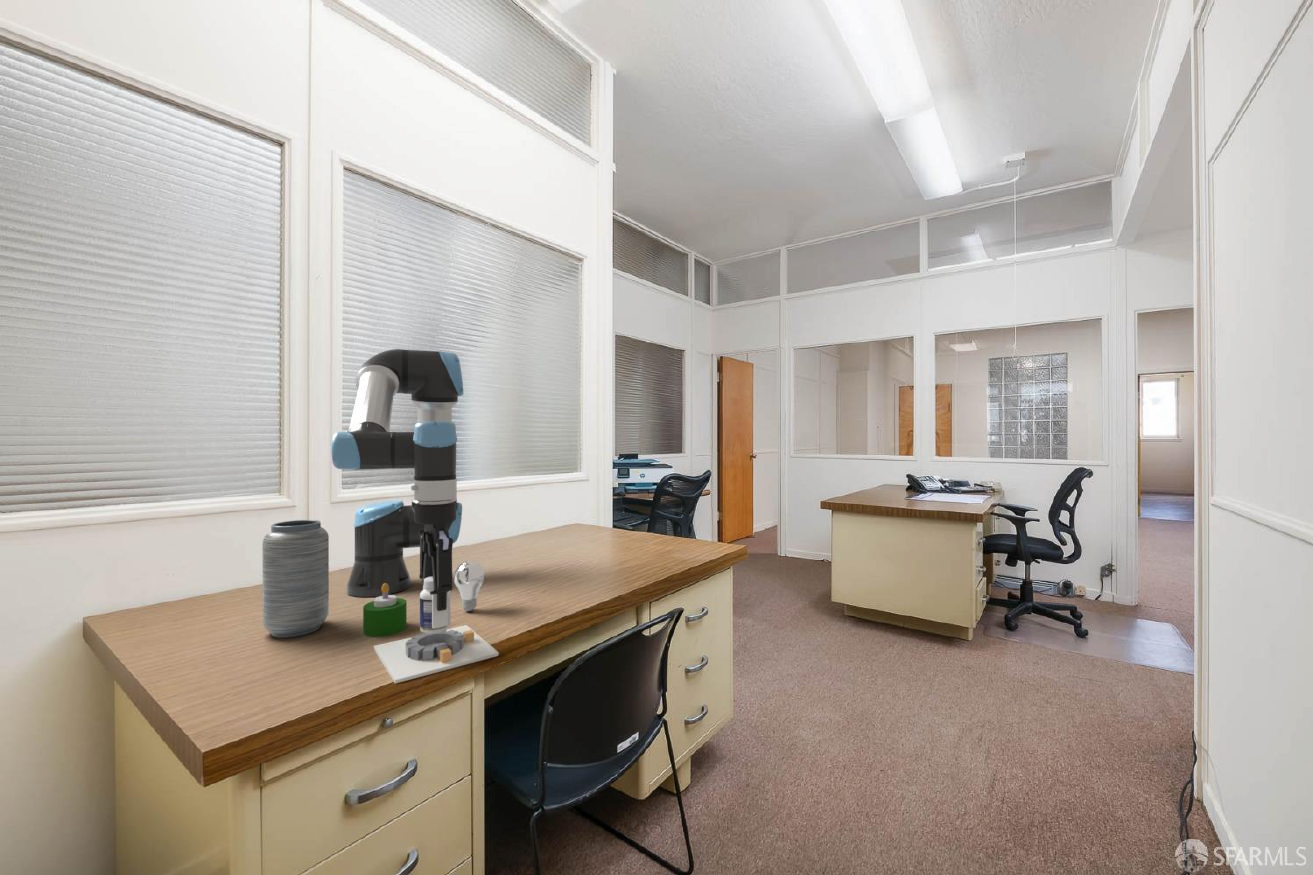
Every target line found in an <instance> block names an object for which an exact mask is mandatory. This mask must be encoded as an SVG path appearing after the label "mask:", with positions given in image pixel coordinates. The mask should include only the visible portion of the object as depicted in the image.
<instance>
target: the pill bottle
mask: <svg viewBox="0 0 1313 875" xmlns="http://www.w3.org/2000/svg"><path fill="white" fill-rule="evenodd" d="M423 585H424V588H425V589H424V590H423V589H422V590H421V591H420V593H419V629H420V632H422V633H437V632H442V631H444V630H447V629H450V627H451V591H449V592H448V626H443V627H439V628H434V629H433V628H432V595H430V592H431V591H434V584H433V576H431V577H427V578H425V579H424V584H423Z"/></svg>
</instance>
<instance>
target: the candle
mask: <svg viewBox="0 0 1313 875" xmlns="http://www.w3.org/2000/svg"><path fill="white" fill-rule="evenodd" d="M381 590H382V595H381V596H376V597H375V598H373V600H372V601H369V602H367V603H365V604H364V605H363V609H362V610H363V611H362V612H363V613H362V615H363V616H362V617H363V620H362V621H363V622H362V624H363V626H362V628H363V629H362V630H363V635H365V636H366V637H370V638H371V637H373V638H375V637H376V638H377V637H381V638H382V637H387V636H392V635H395V634H398V633H401V632H403V631H404V630H406V628H407V616H408V615H407V611H408V610H407V600H406V599H405V598H401V597H400V598H399V597H397V596H396V595H395V594H388V591H389V586H388V584H387V583H384V584H383V585H382V589H381Z"/></svg>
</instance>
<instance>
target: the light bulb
mask: <svg viewBox="0 0 1313 875" xmlns="http://www.w3.org/2000/svg"><path fill="white" fill-rule="evenodd" d="M485 575H486V572H485V570H484V567H483V566H482V564H481V563H479V562H477V561H474V560H466V561H463V562H461V563H459V565H458V566H457V567H456V569H455V570H454V573H453V583H454V585H455V586H456V588H457V590H458V591H459V594H460V598H461V599H462V600H461V607H462V610H464V611H465V612H467V613H471V612H473V611H474V610H475V609H476V608H477V604H478V602H477V601H478V600H477V598H478V595H479V591H480V588H481V587H482V585H483V583H484V582H485V577H486V576H485Z"/></svg>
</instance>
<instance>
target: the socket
mask: <svg viewBox="0 0 1313 875" xmlns="http://www.w3.org/2000/svg"><path fill="white" fill-rule="evenodd" d="M373 650H374V652H375V654H376V655H377V657H378V658H379V660H380V661H381V663H382V665H383V666H384V668H385V669H386V671H387V673H388V675H389V676H390V678H391V679H392V681H393V683H394V684H399V683H402V682H406V681H412V680H413V679H418V678H422V677H424V676H428V675H432V674H436V673H440V672H444V671H447V670H451V669H454V668H459V667H462V666H465V665H470V664H474V663H476V662H481V661H484V660H488V659H491V658H496V657H498V656H499V654H500V653H499V652H498V651H497V649H496V648H494V647H493V646H492V645H491V644H489V643H488V642H487V641H486V640H485V639H484V638H482V637H481V636H480V635H479V634H478V633H477V632H475V630H473V629H472V628H471V627H469V625H467V624H465V625H460V626H456V627H452V628H448V629H446V630H444V631H442V632H437V633H424V632H422V634H419V633H418V634H416V635H414V636H411V637H408V638H403V639H398V640H394V641H390V642H386V643H381V644H377V645H373Z"/></svg>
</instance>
